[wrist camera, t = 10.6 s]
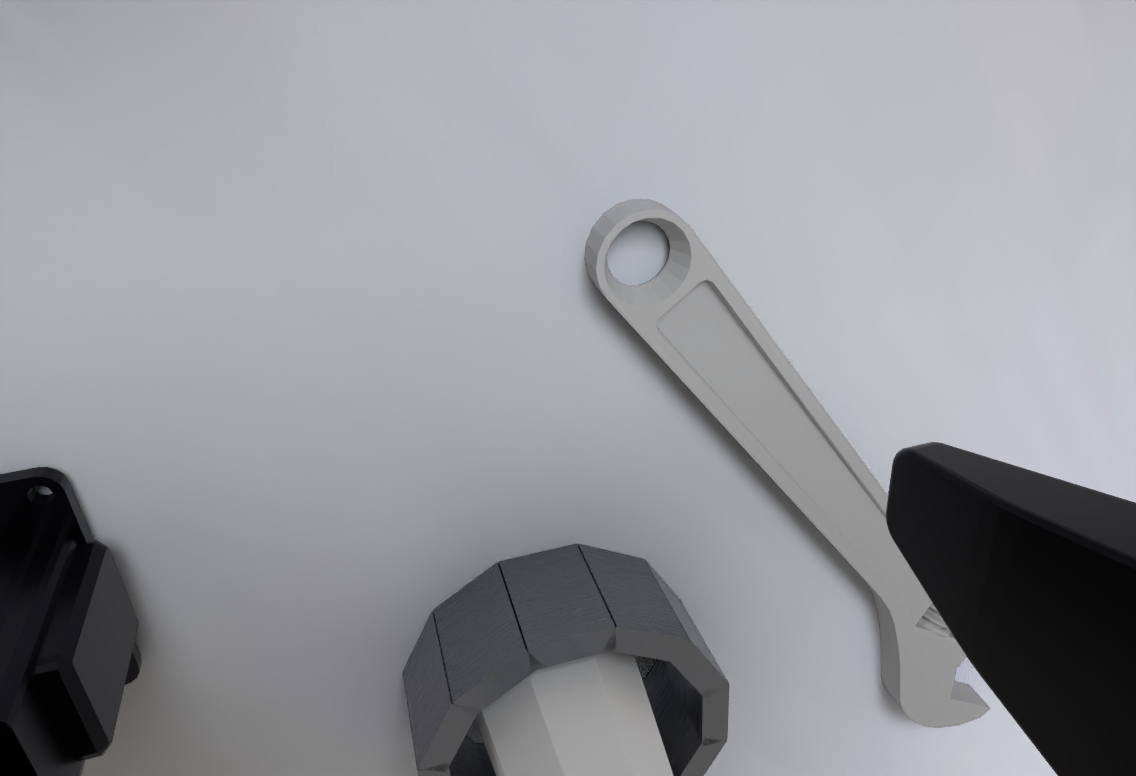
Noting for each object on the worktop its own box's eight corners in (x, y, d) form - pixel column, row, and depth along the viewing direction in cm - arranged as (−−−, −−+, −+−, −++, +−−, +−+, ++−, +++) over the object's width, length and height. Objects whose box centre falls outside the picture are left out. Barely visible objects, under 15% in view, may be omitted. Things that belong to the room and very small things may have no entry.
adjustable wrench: (552, 241, 21) (571, 264, 20) (761, 77, 21) (798, 87, 19) (905, 716, 34) (934, 752, 33) (1039, 620, 34) (1074, 651, 32)
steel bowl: (429, 795, 28) (445, 897, 25) (384, 588, 24) (397, 682, 21) (681, 723, 30) (724, 810, 27) (681, 519, 26) (732, 596, 23)
